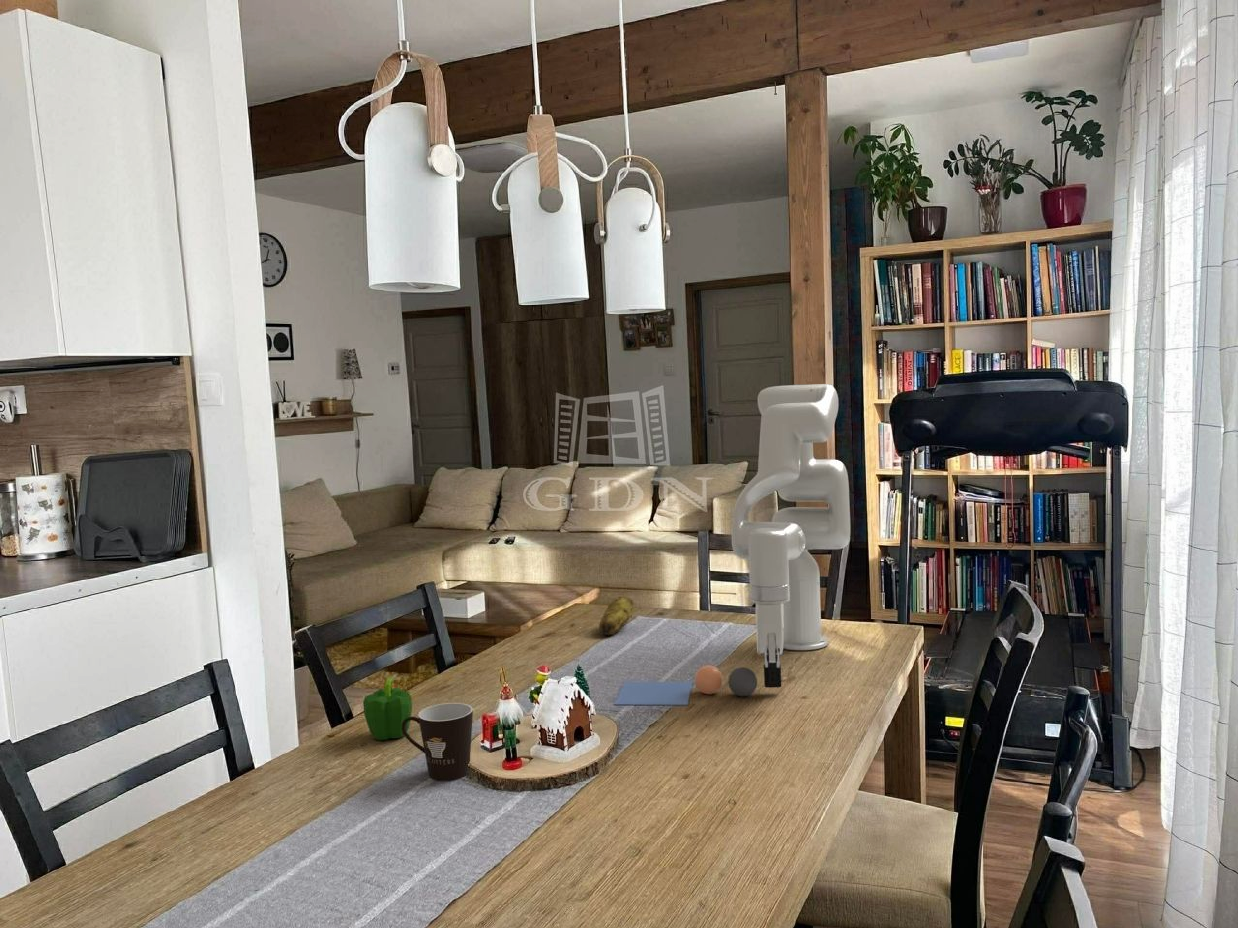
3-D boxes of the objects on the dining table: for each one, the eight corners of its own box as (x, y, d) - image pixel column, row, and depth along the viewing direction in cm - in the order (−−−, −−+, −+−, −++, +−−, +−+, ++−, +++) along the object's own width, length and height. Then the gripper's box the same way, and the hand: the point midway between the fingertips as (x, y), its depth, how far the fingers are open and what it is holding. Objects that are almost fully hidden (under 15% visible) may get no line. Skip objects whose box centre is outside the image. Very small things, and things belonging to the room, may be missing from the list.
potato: (586, 634, 233) (584, 602, 233) (621, 623, 243) (620, 593, 242) (610, 639, 228) (608, 606, 227) (645, 628, 237) (644, 596, 237)
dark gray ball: (756, 664, 183) (750, 689, 184) (729, 660, 183) (723, 685, 184) (762, 677, 178) (755, 703, 179) (734, 673, 177) (728, 699, 178)
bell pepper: (398, 746, 162) (394, 689, 162) (357, 742, 165) (353, 687, 164) (423, 729, 170) (419, 675, 170) (383, 726, 173) (380, 673, 172)
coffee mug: (487, 770, 150) (484, 709, 149) (443, 788, 144) (439, 725, 143) (443, 753, 158) (440, 696, 157) (400, 770, 152) (396, 710, 151)
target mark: (624, 682, 193) (624, 681, 193) (692, 682, 191) (692, 681, 191) (614, 704, 179) (614, 703, 179) (687, 705, 177) (687, 704, 177)
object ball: (703, 693, 186) (691, 668, 186) (728, 682, 185) (715, 657, 185) (701, 702, 181) (689, 676, 181) (727, 690, 180) (714, 665, 180)
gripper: (750, 585, 188) (753, 674, 189) (749, 601, 173) (753, 698, 174) (788, 584, 187) (791, 674, 188) (791, 601, 172) (794, 698, 173)
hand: (772, 685), depth 181 cm, fingers closed
